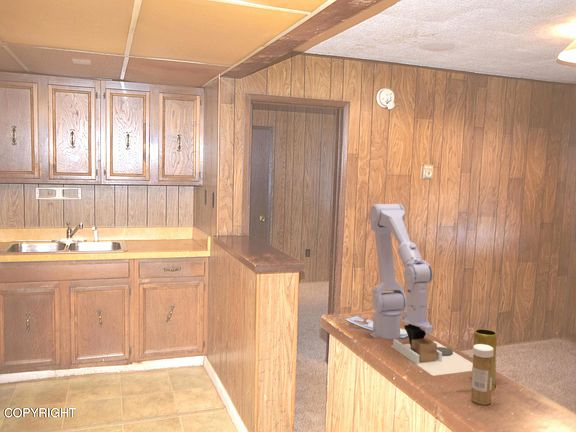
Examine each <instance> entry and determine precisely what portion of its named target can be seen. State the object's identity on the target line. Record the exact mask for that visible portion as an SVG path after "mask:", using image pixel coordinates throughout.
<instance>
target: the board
mask: <svg viewBox="0 0 576 432" xmlns="http://www.w3.org/2000/svg"><path fill="white" fill-rule="evenodd" d="M432 341H433V340H432ZM433 342H435V343H436V344H437V347H444V348H447V347H446V346H444V345H443V344H441V343H439V342H438V341H436V340H435V341H433ZM404 345H405V346H407V347H408V348H410V349H411V346H410V343H405V344H404ZM391 348H393V345H391ZM393 349H394V350H396V349H395V348H393ZM400 354H401V355H403V354H402V353H400ZM407 359H408V360H410V359H409V358H407ZM414 364H416V363H414ZM416 366H417V367H419V368H420V369H422V370H424V371H426V373H428V374H429V375H431V376H435V377H436V376H443V375H444V376H445V375H451V374H457V373H467V372H472V366H473V362H471V361H470V360H468V359H467V358H464V357H463V356H461V355H460V354H459V353H456V352H455V351H453V354H452V355H451V356H442V361H440V362H439V361H438V360H436V361H433V362H425V363H420V362H419V364H416Z"/></svg>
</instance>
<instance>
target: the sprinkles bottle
mask: <svg viewBox="0 0 576 432" xmlns="http://www.w3.org/2000/svg"><path fill="white" fill-rule="evenodd" d="M493 354H494V349H493V347H491V346H489V345H485V344H476V345H474V344H473V347H472V356H474V358H472V363H473V374H472V373H471V377H472V379H471V400H472V402H473V403H476V404H478V405H482V406H483V405H484V406H486V405H490V404H491V403H492V390H491V389H492V358H493Z"/></svg>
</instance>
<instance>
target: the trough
mask: <svg viewBox="0 0 576 432" xmlns="http://www.w3.org/2000/svg"><path fill="white" fill-rule="evenodd" d="M392 340H393V341H392V343H393V344H392V346H393V347H392V348H393V349H394V348H395V349H394V350H395V351H397V352H398V353H400V354H401V353H402V354H401V355H403V356H404V357H405V358H407V359H408V358H409V359H408V360H409V361H411V362H413V363H414V364H415V363H416V365H417V364H419V355H418V354H417V353H415V352H414V351H413V350H411V348H408V347H407V346H405V345H404V344H403V343H402V342H400V341H399V340H398V339H392ZM436 360H438V361H439V362H440V361H442V352H440V351H439V350H437V353H436Z"/></svg>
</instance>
